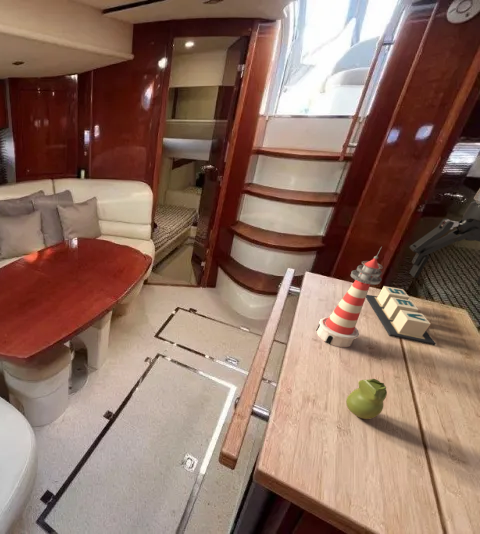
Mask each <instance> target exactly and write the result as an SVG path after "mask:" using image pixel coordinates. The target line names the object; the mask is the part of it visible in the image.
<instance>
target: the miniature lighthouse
mask: <svg viewBox="0 0 480 534" xmlns="http://www.w3.org/2000/svg"><path fill="white" fill-rule="evenodd" d="M382 247H383V246H381V247H380V248H379V251H378V252H377V254H376V255H375V256H373V258H372V259H371V260H363V261H361V264H359V265H358V266H357V267H356V269H354V270H352V271H351V273H350V277H351V278H352V279H353V280H354V282H353V283H352V284H351V285H350V287H349V289H348V290H347V292H346V293H345V294H344V296H343V297H342V298H341V300H340V301H339V303H338V304H337V305H336V307H335V308H334V310H333V311H332V312H331V314H330V315H329V316H325V317H322V318H320V319H319V322H318V323H319V324H318V325H317V327H316V334H317V336H318V337H319V338H320V339H321V340H322V341H324V342H325V343H326V344H328V345H331V346H335V347H338V348H348V347H351V346H352V345H353V343H354V341H355V340H356V339H357V338H359V336H360V332H359V330H358V328H357V327H356V325H357V323H358V320H359V317H360V315H361V312H362V309H363V306H364V304H365V300H366V299H367V298H366V295H368V293H369V290H370V287H371V285H373V286H374V285H375V286H376V285H380V283H381V282H382V280H383V279H382V277H381V275H382V274H383V272H382V271H381V270H382V269H383V268H384V267H383V265H382V264H380V263H379V262H378V259H379V256H378V255H379V254H380V251H381V250H382Z"/></svg>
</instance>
